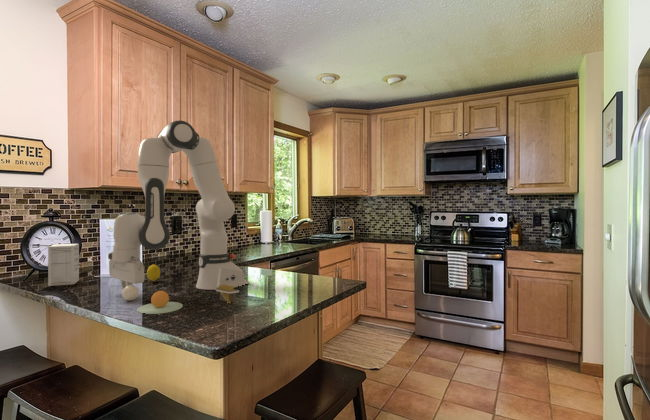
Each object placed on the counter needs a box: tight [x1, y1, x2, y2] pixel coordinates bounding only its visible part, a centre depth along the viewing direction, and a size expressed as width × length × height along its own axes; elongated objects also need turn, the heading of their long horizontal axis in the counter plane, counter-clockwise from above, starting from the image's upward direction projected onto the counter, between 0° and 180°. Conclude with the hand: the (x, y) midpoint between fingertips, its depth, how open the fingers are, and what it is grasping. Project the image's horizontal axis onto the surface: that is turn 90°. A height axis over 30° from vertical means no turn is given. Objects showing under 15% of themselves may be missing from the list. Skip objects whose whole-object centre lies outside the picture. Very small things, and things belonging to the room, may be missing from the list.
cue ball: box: [121, 284, 140, 302], centre depth 128 cm, size 6×6×6 cm
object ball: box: [150, 290, 170, 308], centre depth 120 cm, size 6×6×6 cm
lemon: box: [146, 263, 161, 283], centre depth 160 cm, size 6×6×8 cm
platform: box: [215, 284, 240, 304], centre depth 127 cm, size 12×18×7 cm, turn 59°
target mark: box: [136, 301, 184, 315], centre depth 119 cm, size 14×14×1 cm
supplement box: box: [47, 243, 80, 287], centre depth 154 cm, size 10×9×17 cm
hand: (126, 292), depth 133 cm, fingers closed
